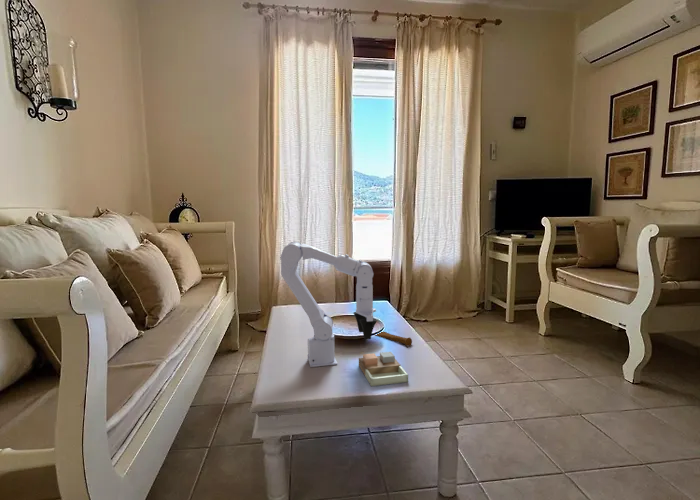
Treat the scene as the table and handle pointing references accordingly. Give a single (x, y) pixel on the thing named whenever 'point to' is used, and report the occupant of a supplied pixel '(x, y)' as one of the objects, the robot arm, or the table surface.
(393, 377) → the tray
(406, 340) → the primitive tool
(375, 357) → the terracotta tile
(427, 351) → the table surface
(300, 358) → the table surface
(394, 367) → the walnut board
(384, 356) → the slate tile
